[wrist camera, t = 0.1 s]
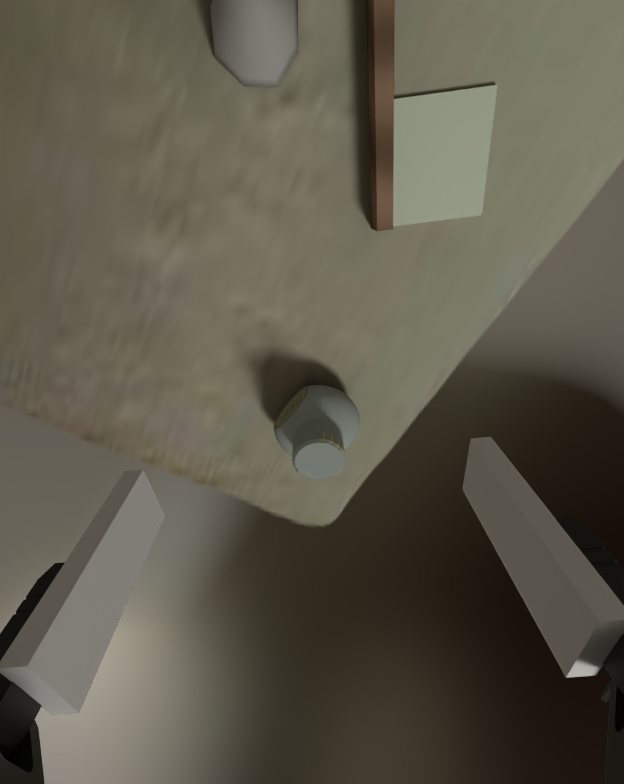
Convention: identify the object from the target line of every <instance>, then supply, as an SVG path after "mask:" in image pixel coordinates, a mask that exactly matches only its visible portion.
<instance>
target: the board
mask: <svg viewBox="0 0 624 784" xmlns="http://www.w3.org/2000/svg"><path fill="white" fill-rule="evenodd" d="M496 93H497V85H492V86H485V87H478V88H470V89H463V90H456V91H449V92H441V93H434V94H427V95H420V96H413V97H405V98H398V99H394V165H393V226H400V225H408V224H416V223H424V222H432V221H440V220H448V219H456V218H464V217H472V216H480V215H482V209H483V201H484V192H485V184H486V176H487V168H488V159H489V151H490V143H491V134H492V126H493V118H494V110H495V101H496Z"/></svg>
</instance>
